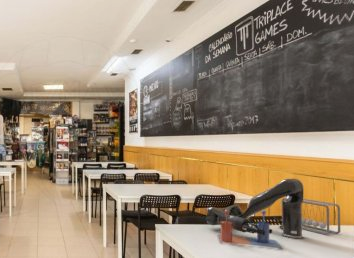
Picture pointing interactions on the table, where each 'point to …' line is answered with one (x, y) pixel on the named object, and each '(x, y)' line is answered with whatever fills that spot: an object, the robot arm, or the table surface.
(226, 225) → the terracotta spoon holder
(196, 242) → the table surface
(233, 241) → the sorting board
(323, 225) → the newton's cradle
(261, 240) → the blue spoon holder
